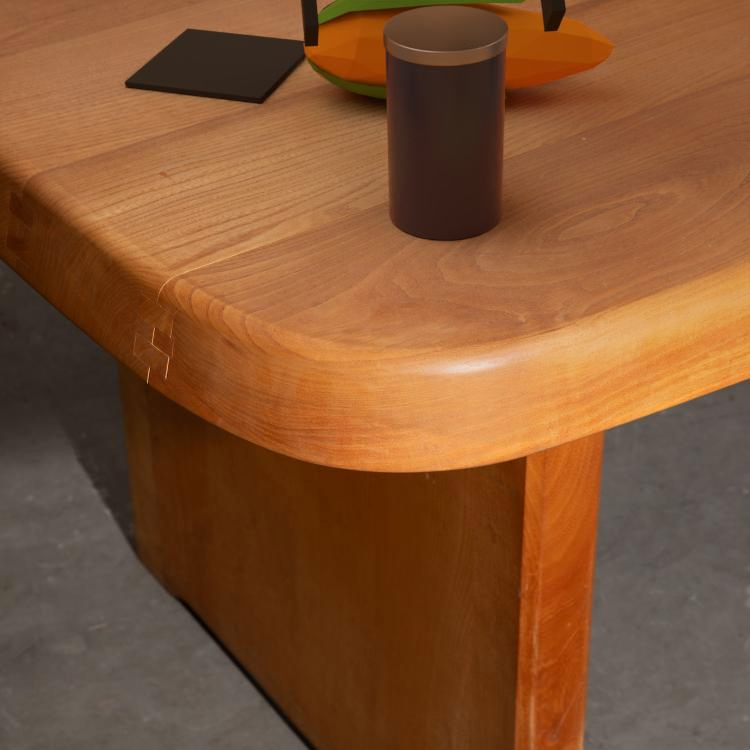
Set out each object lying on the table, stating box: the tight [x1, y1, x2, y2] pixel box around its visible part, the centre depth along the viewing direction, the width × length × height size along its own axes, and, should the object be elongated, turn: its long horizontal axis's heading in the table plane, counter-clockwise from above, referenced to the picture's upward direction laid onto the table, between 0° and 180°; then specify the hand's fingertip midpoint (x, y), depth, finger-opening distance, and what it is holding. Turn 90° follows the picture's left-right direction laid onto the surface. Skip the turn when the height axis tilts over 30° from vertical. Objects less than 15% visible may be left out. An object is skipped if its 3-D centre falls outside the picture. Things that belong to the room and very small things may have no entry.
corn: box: [304, 0, 615, 100], centre depth 94 cm, size 7×8×20 cm
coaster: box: [124, 27, 306, 104], centre depth 101 cm, size 10×10×1 cm
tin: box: [383, 6, 509, 241], centre depth 79 cm, size 7×7×11 cm
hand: (434, 29), depth 80 cm, fingers open, 13 cm apart
